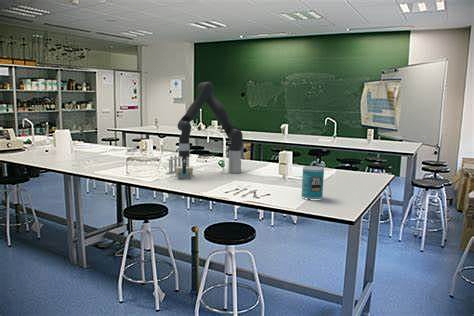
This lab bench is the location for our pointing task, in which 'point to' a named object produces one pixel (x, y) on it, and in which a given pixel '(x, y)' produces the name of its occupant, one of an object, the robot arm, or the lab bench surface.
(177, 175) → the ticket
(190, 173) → the tray
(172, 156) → the test tube rack
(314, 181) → the food can
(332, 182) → the lab bench surface
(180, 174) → the stub
